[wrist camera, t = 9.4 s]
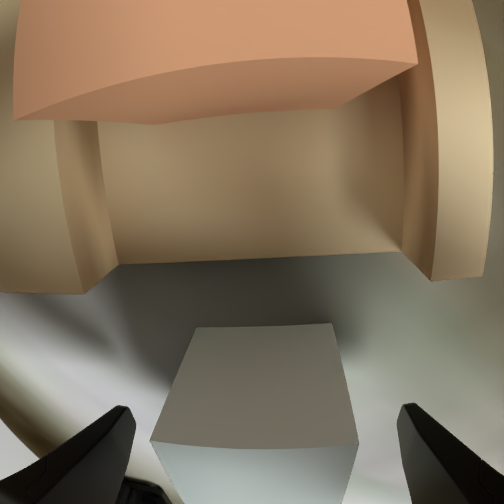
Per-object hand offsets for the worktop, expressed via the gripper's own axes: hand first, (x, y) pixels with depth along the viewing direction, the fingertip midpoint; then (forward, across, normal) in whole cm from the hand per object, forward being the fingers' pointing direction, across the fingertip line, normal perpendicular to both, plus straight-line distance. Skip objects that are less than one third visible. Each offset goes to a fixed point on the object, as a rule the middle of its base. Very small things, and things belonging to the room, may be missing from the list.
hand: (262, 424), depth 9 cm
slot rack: (+2, +6, -11) cm, 13 cm away
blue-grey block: (+2, 0, 0) cm, 2 cm away
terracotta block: (+1, 0, -11) cm, 11 cm away
